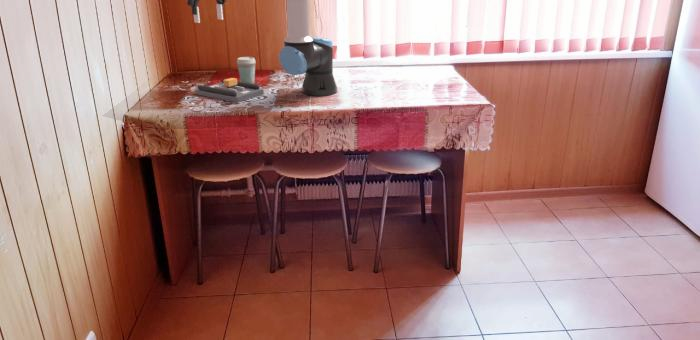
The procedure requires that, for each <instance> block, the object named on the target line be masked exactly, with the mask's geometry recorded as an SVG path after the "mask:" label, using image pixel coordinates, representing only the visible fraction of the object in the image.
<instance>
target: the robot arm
mask: <svg viewBox="0 0 700 340" xmlns="http://www.w3.org/2000/svg"><path fill="white" fill-rule="evenodd" d="M215 1H216V3H217V4H215V5H216V6H215V7H216V15H217V20H224V15H223V14H224V13H223V12H224V5H225V3H227V0H215ZM309 1H310V0H286V2H285V3H286V23H287V24H286V26H287V35H286V37H285V38H284V40H283V44H284V45H283V47H282V49H281V50H280V51H279V54H278V59H279V64H280V67H282V69H283V70H284V71H285V73H287V74H289V75H292V76H297V75H303V74H305V75H304V79H303V81H302V86H301V92H302V94H304V95H307V96H317V97H318V96H319V97H321V96H323V97H324V96H331V95H334V94H336V93H337V92H338V91H337V90H338V89H337V88H338V87H337V84H336V81H335V77H334V71H333V69H334V67H333V65H334V64H333V57H334V55H333V50H334V47H333V41H332V39H331V38H324V37H314V36H313V37H312V36H311V35H310V5H309V4H310V3H309ZM199 3H200V0H187V6H189V7H191V12H192V15H193V20H194V21H193V22H194V23H196V24H197V23H198V24H200V23H201V18H200V9H199V6H198V5H199Z"/></svg>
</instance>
